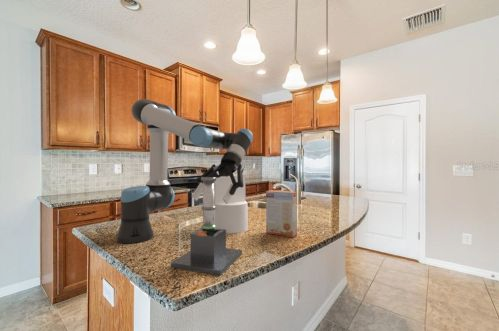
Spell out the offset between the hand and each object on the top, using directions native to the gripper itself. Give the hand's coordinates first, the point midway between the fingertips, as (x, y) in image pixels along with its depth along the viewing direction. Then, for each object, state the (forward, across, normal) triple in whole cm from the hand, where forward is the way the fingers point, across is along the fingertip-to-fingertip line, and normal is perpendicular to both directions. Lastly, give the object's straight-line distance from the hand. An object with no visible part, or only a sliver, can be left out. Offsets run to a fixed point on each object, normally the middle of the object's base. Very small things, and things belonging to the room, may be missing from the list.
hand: (209, 200), depth 81 cm
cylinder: (-11, +16, -42) cm, 47 cm away
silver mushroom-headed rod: (+10, 0, -10) cm, 14 cm away
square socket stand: (+15, 0, -15) cm, 21 cm away
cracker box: (-14, -10, -45) cm, 48 cm away
